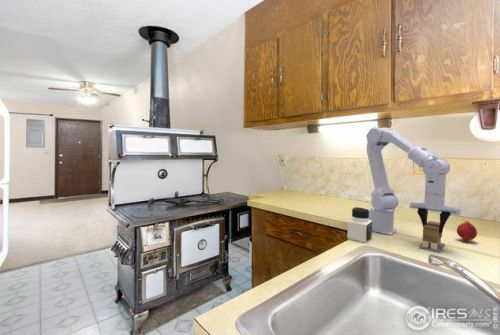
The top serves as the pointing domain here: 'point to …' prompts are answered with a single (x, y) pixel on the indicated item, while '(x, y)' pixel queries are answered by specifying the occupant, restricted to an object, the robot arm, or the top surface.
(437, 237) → the wooden block
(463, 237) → the onion
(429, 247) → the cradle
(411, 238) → the top surface
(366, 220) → the medicine bottle
